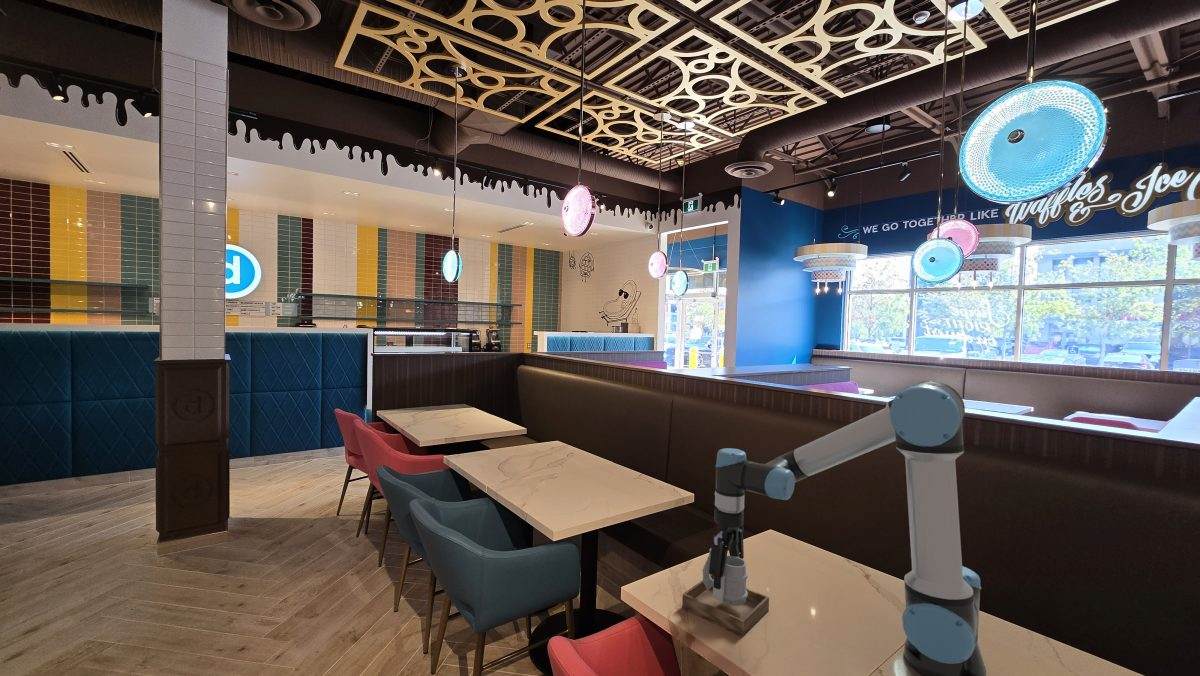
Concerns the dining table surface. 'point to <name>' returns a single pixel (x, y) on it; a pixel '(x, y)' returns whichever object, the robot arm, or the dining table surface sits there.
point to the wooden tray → (726, 608)
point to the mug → (730, 580)
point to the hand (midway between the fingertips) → (725, 593)
